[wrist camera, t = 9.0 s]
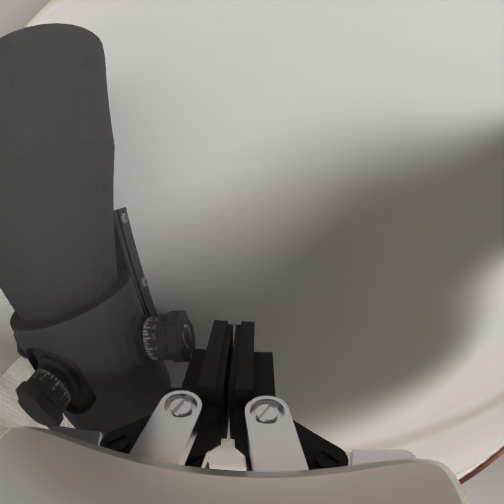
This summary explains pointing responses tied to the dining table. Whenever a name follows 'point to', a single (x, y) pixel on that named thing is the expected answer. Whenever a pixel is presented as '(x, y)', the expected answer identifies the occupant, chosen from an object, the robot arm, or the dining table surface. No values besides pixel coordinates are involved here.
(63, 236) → the rifle scope
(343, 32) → the dining table surface
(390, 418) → the dining table surface
